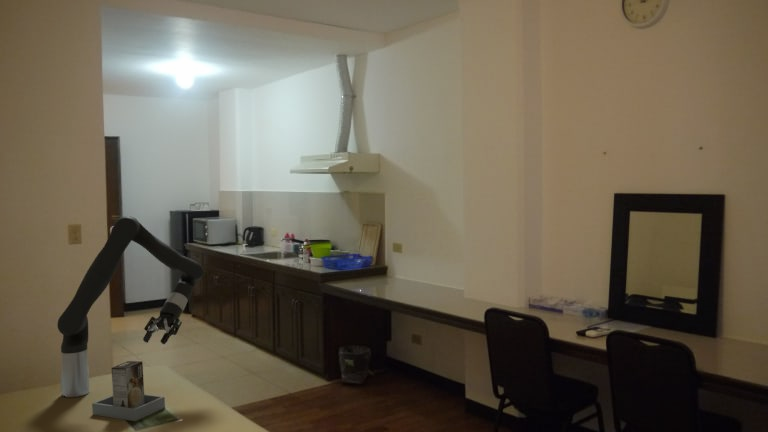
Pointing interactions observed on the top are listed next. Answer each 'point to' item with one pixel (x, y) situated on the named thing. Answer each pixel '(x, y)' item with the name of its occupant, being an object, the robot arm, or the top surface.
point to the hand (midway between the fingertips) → (153, 342)
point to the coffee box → (128, 384)
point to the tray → (109, 410)
